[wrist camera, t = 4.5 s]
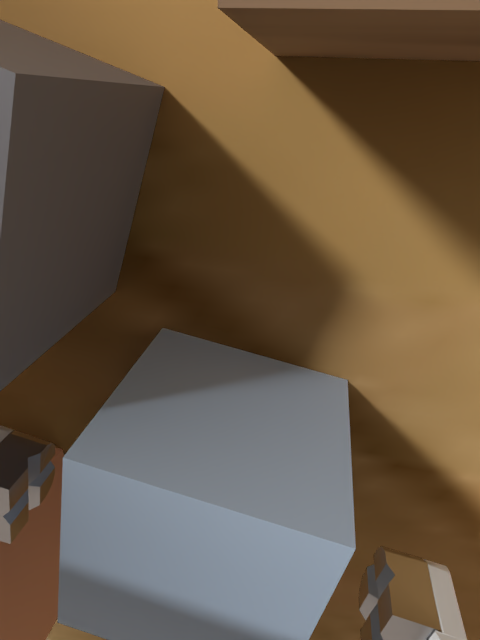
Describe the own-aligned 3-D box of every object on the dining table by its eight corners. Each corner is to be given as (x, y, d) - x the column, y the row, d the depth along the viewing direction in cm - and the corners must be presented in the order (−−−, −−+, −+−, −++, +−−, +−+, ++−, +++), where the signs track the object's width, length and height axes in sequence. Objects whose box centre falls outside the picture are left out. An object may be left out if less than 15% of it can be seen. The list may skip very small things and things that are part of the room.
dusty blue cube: (164, 326, 12) (63, 457, 7) (347, 378, 12) (355, 549, 7) (144, 460, 14) (57, 622, 10) (296, 508, 14) (278, 698, 9)
